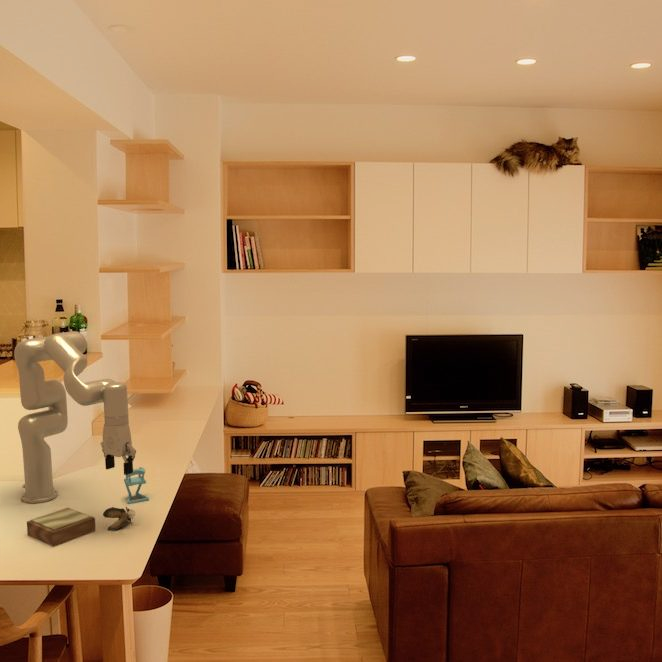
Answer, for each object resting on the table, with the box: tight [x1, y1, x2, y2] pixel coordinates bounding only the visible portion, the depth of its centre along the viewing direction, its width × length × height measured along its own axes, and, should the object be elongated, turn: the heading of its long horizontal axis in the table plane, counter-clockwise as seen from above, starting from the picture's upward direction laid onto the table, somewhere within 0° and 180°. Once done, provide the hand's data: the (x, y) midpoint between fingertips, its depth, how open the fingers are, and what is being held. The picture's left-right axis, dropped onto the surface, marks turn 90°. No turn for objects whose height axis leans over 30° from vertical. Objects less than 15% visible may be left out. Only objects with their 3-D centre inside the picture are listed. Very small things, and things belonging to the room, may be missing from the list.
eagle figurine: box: [102, 506, 136, 532], centre depth 244 cm, size 8×7×9 cm
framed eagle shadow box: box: [26, 507, 96, 547], centre depth 239 cm, size 15×15×5 cm
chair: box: [123, 466, 150, 505], centre depth 268 cm, size 8×8×12 cm
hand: (119, 471), depth 243 cm, fingers open, 9 cm apart
